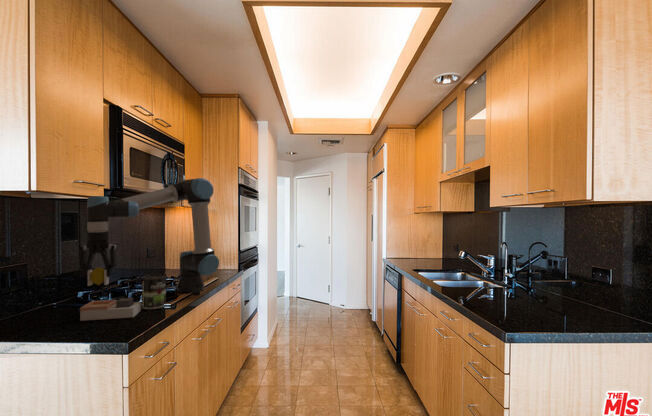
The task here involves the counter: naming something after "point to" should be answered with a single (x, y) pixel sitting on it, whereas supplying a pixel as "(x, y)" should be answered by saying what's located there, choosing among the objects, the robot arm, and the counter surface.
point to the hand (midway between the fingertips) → (98, 284)
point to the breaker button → (124, 302)
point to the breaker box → (107, 310)
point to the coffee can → (154, 292)
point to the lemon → (97, 276)
